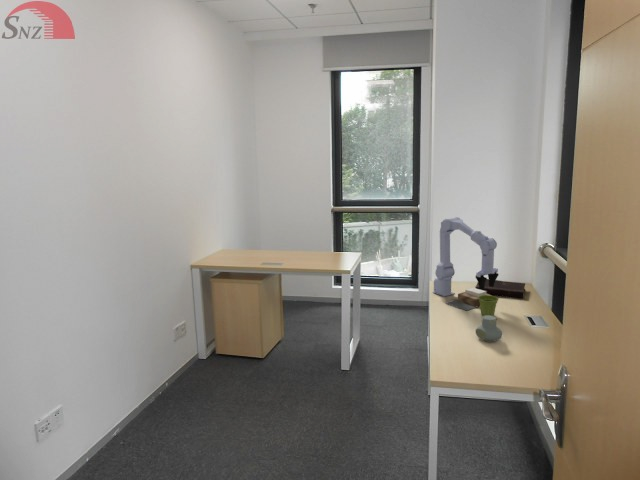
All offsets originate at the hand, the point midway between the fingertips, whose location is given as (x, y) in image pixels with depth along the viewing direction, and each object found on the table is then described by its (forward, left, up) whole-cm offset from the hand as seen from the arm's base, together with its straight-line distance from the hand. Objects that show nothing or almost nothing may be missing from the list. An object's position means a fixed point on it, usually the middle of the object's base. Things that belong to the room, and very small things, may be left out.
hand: (486, 288), depth 244 cm
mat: (-9, -9, -10) cm, 16 cm away
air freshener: (+27, -33, -10) cm, 44 cm away
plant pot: (+8, -9, -10) cm, 16 cm away
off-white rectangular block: (-9, +3, -6) cm, 11 cm away
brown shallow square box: (-9, +2, -10) cm, 14 cm away
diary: (-11, +27, -11) cm, 31 cm away
